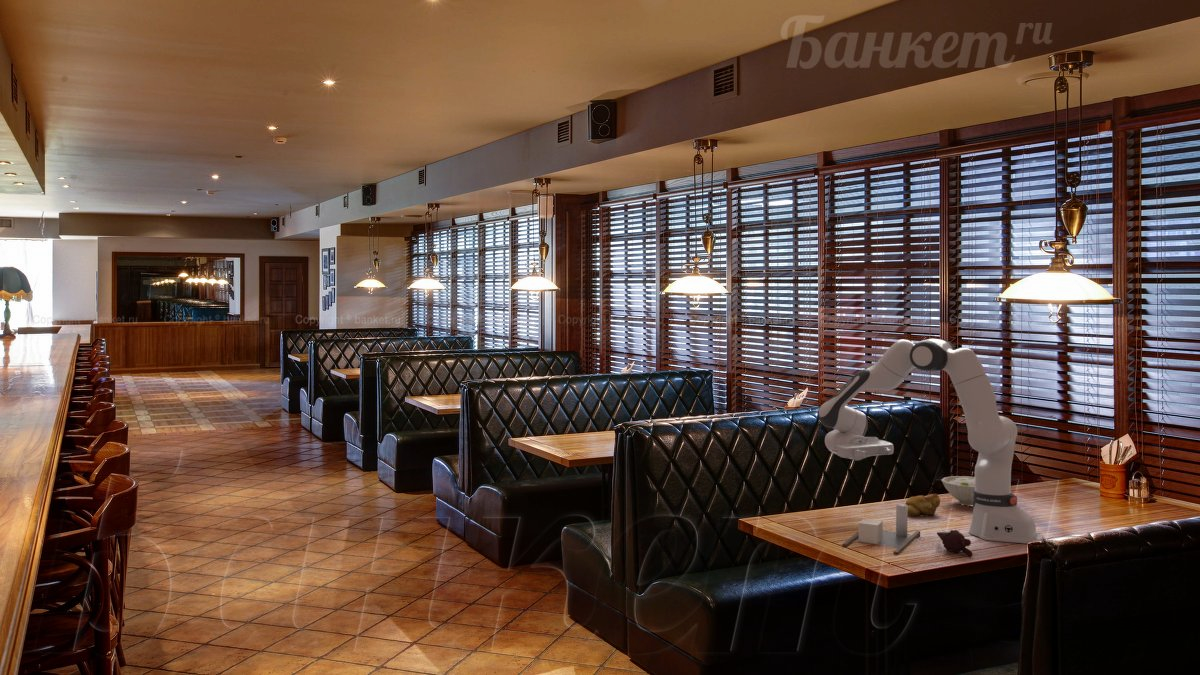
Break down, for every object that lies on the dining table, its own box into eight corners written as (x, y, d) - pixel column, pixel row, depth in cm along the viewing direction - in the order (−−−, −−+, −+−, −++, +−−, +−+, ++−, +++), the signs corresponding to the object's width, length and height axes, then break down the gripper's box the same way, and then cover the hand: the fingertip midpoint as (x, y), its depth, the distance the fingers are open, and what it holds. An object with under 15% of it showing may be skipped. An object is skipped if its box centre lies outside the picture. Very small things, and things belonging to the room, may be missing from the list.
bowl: (1007, 508, 336) (1007, 482, 335) (960, 511, 332) (960, 484, 331) (975, 497, 355) (975, 472, 354) (931, 500, 351) (931, 474, 350)
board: (913, 537, 297) (913, 504, 297) (899, 550, 283) (899, 516, 282) (870, 531, 305) (870, 499, 304) (854, 544, 290) (854, 510, 290)
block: (882, 539, 292) (882, 521, 292) (877, 543, 287) (877, 525, 287) (864, 536, 295) (864, 518, 295) (858, 541, 290) (858, 522, 290)
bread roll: (913, 519, 322) (913, 497, 322) (896, 513, 331) (896, 491, 331) (942, 516, 326) (943, 494, 326) (924, 510, 335) (925, 488, 335)
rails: (920, 537, 299) (920, 531, 299) (897, 558, 275) (897, 552, 275) (868, 530, 308) (868, 524, 308) (842, 550, 285) (842, 543, 285)
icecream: (926, 527, 287) (959, 543, 273) (944, 519, 290) (979, 534, 276) (929, 546, 289) (962, 563, 275) (947, 538, 291) (982, 555, 277)
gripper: (829, 440, 320) (850, 446, 307) (879, 436, 326) (902, 442, 313) (829, 458, 321) (851, 464, 307) (879, 454, 326) (903, 460, 313)
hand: (877, 453), depth 310 cm, fingers open, 8 cm apart
